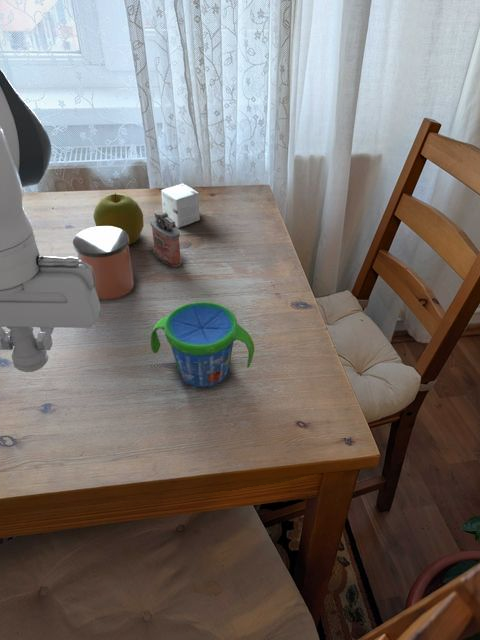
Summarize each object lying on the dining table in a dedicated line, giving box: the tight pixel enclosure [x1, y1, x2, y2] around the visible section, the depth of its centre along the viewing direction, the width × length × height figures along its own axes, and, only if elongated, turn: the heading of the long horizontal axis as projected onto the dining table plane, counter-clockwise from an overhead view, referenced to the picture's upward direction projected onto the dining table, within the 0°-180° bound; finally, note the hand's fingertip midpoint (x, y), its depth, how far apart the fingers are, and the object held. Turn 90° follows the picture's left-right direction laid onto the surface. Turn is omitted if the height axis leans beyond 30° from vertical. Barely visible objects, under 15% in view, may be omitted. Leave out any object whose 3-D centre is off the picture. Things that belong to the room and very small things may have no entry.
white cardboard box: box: [160, 183, 201, 229], centre depth 115 cm, size 6×6×7 cm
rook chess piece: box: [6, 327, 49, 373], centre depth 67 cm, size 4×4×8 cm
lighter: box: [149, 210, 183, 267], centre depth 103 cm, size 8×3×10 cm, turn 40°
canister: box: [72, 226, 135, 300], centre depth 94 cm, size 9×9×10 cm
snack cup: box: [150, 301, 255, 388], centre depth 79 cm, size 16×10×10 cm
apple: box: [92, 192, 145, 246], centre depth 107 cm, size 10×10×11 cm
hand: (26, 347), depth 68 cm, fingers closed on rook chess piece, 3 cm apart
